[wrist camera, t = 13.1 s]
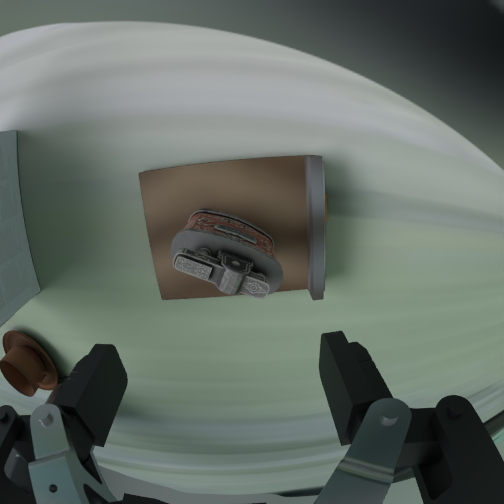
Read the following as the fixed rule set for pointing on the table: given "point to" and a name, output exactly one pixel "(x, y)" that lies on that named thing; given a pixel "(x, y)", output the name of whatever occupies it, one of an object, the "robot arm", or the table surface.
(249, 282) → the lighter
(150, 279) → the table surface
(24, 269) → the skincare box
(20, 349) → the cup and saucer
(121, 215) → the table surface
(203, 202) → the shelf board
